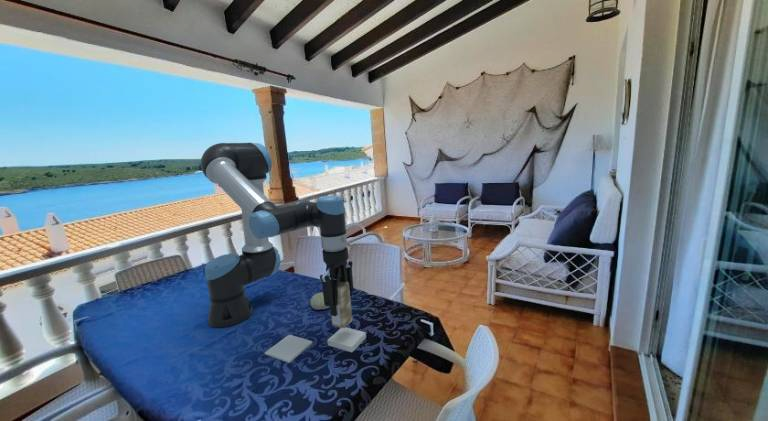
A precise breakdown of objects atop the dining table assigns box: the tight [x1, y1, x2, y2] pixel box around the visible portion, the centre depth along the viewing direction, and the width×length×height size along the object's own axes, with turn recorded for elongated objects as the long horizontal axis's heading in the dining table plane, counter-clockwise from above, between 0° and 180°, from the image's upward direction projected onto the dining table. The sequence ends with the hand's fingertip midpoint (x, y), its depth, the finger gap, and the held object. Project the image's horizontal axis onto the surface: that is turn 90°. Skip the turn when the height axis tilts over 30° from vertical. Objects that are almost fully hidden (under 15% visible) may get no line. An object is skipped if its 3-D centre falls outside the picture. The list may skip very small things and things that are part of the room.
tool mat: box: [264, 334, 314, 364], centre depth 92 cm, size 10×10×1 cm
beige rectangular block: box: [330, 281, 353, 329], centre depth 92 cm, size 4×4×13 cm
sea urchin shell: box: [309, 291, 330, 311], centre depth 118 cm, size 9×8×8 cm
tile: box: [327, 326, 367, 353], centre depth 93 cm, size 2×8×9 cm
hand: (342, 319), depth 93 cm, fingers closed on beige rectangular block, 4 cm apart
